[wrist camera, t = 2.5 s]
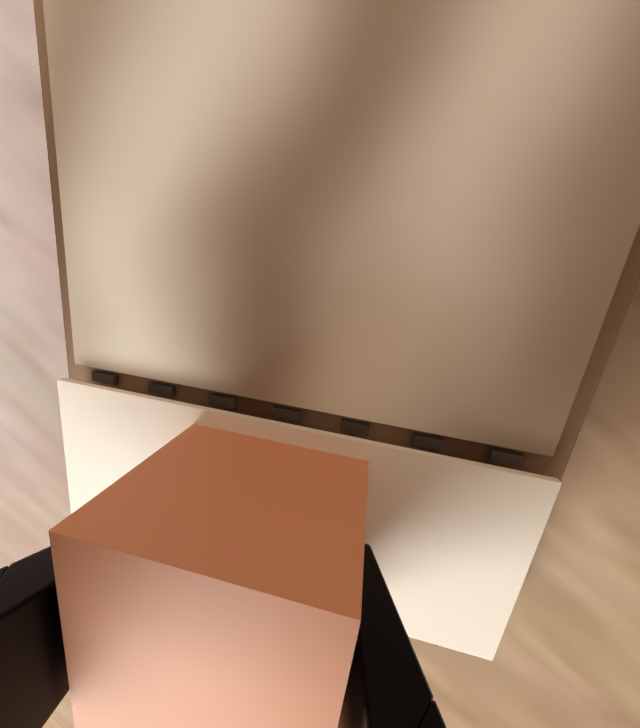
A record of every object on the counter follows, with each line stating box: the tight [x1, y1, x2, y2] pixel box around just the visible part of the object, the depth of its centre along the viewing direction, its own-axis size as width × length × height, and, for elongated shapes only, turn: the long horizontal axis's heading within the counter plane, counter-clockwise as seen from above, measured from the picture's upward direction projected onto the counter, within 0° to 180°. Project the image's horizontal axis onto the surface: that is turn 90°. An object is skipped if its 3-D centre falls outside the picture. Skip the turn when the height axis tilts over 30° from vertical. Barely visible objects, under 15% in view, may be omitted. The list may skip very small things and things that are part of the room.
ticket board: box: [33, 0, 640, 481], centre depth 9 cm, size 15×18×2 cm
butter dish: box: [49, 378, 562, 728], centre depth 7 cm, size 14×6×4 cm, turn 83°
